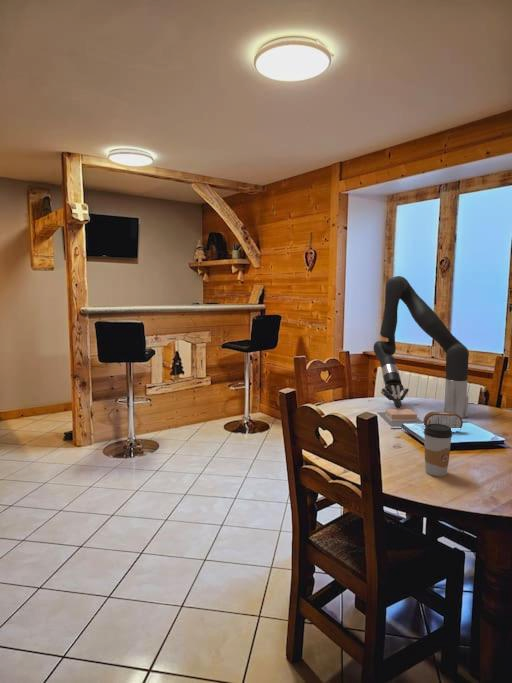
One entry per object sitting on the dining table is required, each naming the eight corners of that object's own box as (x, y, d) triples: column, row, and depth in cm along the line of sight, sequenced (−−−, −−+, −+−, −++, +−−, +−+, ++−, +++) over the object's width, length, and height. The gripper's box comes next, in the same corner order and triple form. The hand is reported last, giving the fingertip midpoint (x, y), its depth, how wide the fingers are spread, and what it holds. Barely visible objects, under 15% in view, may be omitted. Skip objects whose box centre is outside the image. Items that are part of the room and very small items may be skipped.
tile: (409, 409, 202) (417, 414, 193) (409, 415, 202) (416, 421, 193) (385, 409, 202) (391, 414, 193) (385, 415, 202) (391, 421, 193)
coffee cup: (436, 480, 136) (438, 432, 134) (416, 470, 143) (418, 425, 142) (456, 475, 139) (458, 429, 137) (435, 466, 147) (437, 421, 145)
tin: (460, 431, 183) (461, 411, 182) (463, 434, 180) (464, 413, 179) (422, 430, 184) (423, 410, 183) (424, 432, 181) (425, 412, 180)
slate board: (410, 414, 208) (410, 412, 208) (429, 429, 186) (429, 426, 186) (376, 414, 208) (376, 412, 208) (391, 429, 186) (391, 426, 186)
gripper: (379, 371, 208) (386, 403, 197) (407, 371, 208) (415, 403, 197) (375, 380, 214) (382, 411, 203) (402, 380, 214) (411, 411, 203)
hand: (398, 407), depth 200 cm, fingers closed
